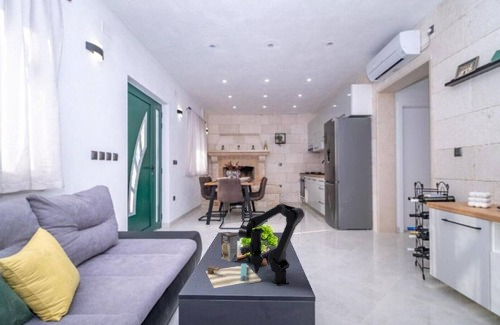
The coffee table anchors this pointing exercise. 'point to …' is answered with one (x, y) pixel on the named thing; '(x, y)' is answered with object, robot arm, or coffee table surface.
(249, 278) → the base board
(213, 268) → the keeper
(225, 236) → the coffee box
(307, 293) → the coffee table surface
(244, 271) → the link bar
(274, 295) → the coffee table surface
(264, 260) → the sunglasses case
